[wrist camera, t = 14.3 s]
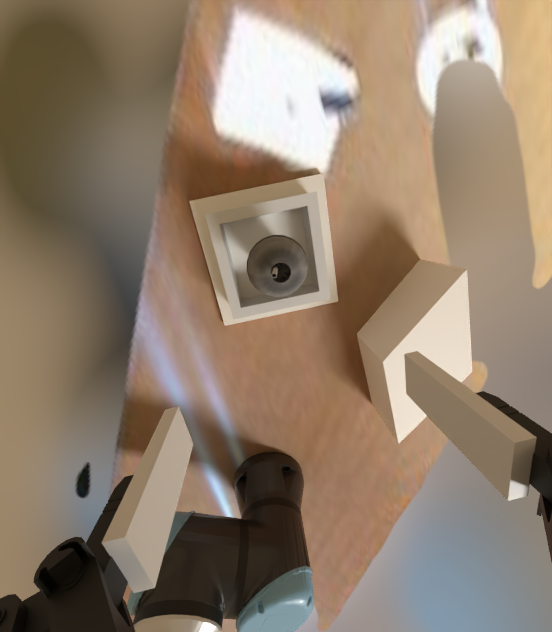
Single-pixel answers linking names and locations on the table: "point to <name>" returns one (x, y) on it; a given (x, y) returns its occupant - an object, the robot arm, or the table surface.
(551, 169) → the table surface
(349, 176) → the table surface
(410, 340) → the block
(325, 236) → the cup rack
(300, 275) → the beverage cup
